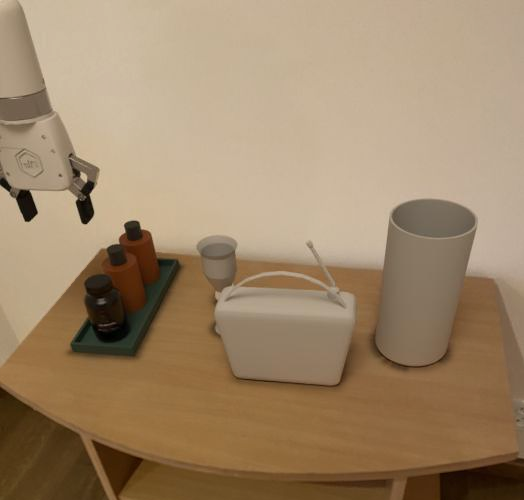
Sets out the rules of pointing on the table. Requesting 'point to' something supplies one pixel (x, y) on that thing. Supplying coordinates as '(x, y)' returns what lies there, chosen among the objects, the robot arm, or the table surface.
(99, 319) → the supplement bottle
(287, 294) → the radio
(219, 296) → the lidless jar
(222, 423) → the table surface
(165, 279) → the tray
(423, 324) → the cylinder vase
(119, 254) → the amber bottle middle
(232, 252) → the chalice
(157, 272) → the amber bottle far
